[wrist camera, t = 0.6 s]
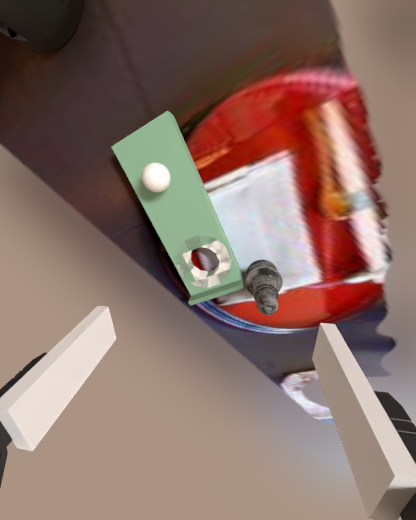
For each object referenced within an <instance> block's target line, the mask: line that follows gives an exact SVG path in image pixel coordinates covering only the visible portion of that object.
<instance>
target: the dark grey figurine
mask: <svg viewBox="0 0 416 520" xmlns="http://www.w3.org/2000/svg"><path fill="white" fill-rule="evenodd" d="M246 287H247V289H248V291H249V292H250V293H251V294H252V295H253V296H254V299H255V300H256V302H257V308H258V310H259V311H260V312H261V313H262V314H264V315H272V314H274V313H275V312H276V311H277V309H278V302H277V298H278V292H279V291H280V289H281V287H282V277H281V275H280V273H279V272H278V271H277V268H276V266H275V265H274V264H273V263H272V262H270V261H267V260H258V261H255V262H253V263H252V264H251V265H250V266H249V268H248V271H247V277H246Z"/></svg>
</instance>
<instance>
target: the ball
mask: <svg viewBox="0 0 416 520" xmlns="http://www.w3.org/2000/svg"><path fill="white" fill-rule="evenodd" d="M142 181H143V183H144V185H145V186H146V188H148V189H149V190H150V191H153V192H162V191H164V190H166V189H167V188H168V186H169V184H170V181H171V177H170V173H169V171H168V169H167V168H166V167H165V166H164V165H162V164H160V163H156V162H154V163H150V164H148V165H147V166H146V167H145V168H144V169H143V172H142Z"/></svg>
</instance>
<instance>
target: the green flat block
mask: <svg viewBox="0 0 416 520" xmlns="http://www.w3.org/2000/svg"><path fill="white" fill-rule="evenodd" d="M112 149H113V151H114V153H115V155H116V156H117V158H118V160H119V162H120V164H121V166H122V168H123V170H124V171H125V173H126V175H127V177H128V179H129V181H130V183H131V184H132V186H133V188H134V190H135V192H136V194H137V196H138V198H139V199H140V201H141V203H142V205H143V207H144V209H145V211H146V213H147V214H148V216H149V218H150V220H151V222H152V224H153V226H154V228H155V229H156V231H157V233H158V235H159V237H160V239H161V241H162V243H163V244H164V246H165V248H166V250H167V252H168V254H169V256H170V258H171V259H172V261H173V263H174V265H175V267H176V269H177V271H178V273H179V274H180V276H181V278H182V280H183V282H184V284H185V286H186V288H187V289H188V291H189V293H190V295H191V297H190V299H189V301H188V302H189V304H190V305H193V304H197V303H200V302H203V301H206V300H210V299H213V298H216V297H219V296H222V295H226V294H229V293H232V292H235V291H239V290H242V289H243V287H244V276H243V274H242V272H241V269H240V267H239V265H238V262H237V260H236V258H235V256H234V253H233V251H232V249H231V246H230V244H229V242H228V240H227V237H226V235H225V233H224V230H223V228H222V226H221V223H220V221H219V219H218V217H217V214H216V212H215V210H214V207H213V205H212V203H211V201H210V198H209V196H208V194H207V191H206V189H205V187H204V184H203V182H202V180H201V178H200V175H199V173H198V171H197V168H196V166H195V164H194V161H193V159H192V157H191V155H190V152H189V150H188V148H187V145H186V143H185V141H184V139H183V136H182V134H181V132H180V129H179V127H178V125H177V122H176V120H175V118H174V116H173V115H172V114H171V113H170V112H169V111H166V112H165V113H163V114H162V115H160V116H159V117H157V118H155V119H154V120H152V121H151V122H149V123H148V124H146V125H145V126H143V127H141V128H140V129H138V130H137V131H135V132H134V133H132V134H130V135H129V136H127V137H126V138H124V139H123V140H121V141H120V142H118V143H116V144H115V145H113V146H112ZM154 162H156V163H160V164H162V165H164V166H165V167H166V168H167V169H168V171H169V173H170V177H171V181H170V184H169V186H168V188H167V189H166V190H164V191H162V192H153V191H150V190H149V189H148V188H146V186H145V185H144V183H143V181H142V172H143V169H144V168H145V167H146V166H147V165H148V164H150V163H154ZM199 247H203V248H209V249H210V250H212V251H213V252H215V253H216V255H217V257H218V259H219V265H218V267H217V268H216V269H214V270H211V271H209V272H208V271H201V270H199V269H198V268H196V267H195V266H194V265H193V263H192V261H191V251H192V250H194V249H197V248H199Z"/></svg>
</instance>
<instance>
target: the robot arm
mask: <svg viewBox="0 0 416 520" xmlns="http://www.w3.org/2000/svg"><path fill="white" fill-rule="evenodd" d="M82 6H83V0H0V32H1V33H3V34H4V35H5V36H7V37H8V38H10V39H11V40H13V41H15V42H16V43H18V44H20V45H22V46H23V47H25V48H27V49H30V50H32V51H36V52H51V51H54V50H57V49H59V48H60V47H62V46H63V45H64V44H65V43H66V42H67V41H68V40H69V39H70V38H71V36H72V35H73V33H74V31H75V29H76V27H77V25H78V22H79V19H80V16H81V12H82ZM115 340H116V335H115V331H114V327H113V323H112V319H111V315H110V311H109V307H107V306H97V307H96V308H95V309H94V310H93V311H92V312H91V313H90V314H89V315H88V316H86V317H85V318H84V320H82V321H81V322H80V323H79V324H78V325H77V326H76V327H75V328H74V329H73V330H72V331H71V332H70V333H69V334H67V335H66V336H65V337H64V338H63V339H62V340H61V341H60V342H59V343H58V344H57V345H56V346H55V347H54V348H53V349H52V350H50V351H49V352H48V353H43V354H42V355H40V356H39V357H37V358H35V359H34V360H32V361H31V362H30V363H29V364H28V365H27V366H26V367H24V368H23V370H22V371H20V372H19V373H18V374H17V375H16V376H15V378H12V379H11V380H10V381H9V382H8V383H7V384H6V385H5V386H4V387H2V388H1V389H0V486H1V482H2V477H3V472H4V468H5V463H6V458H7V448H6V447H7V446H8V445H9V443H10V442H11V441H13V442H14V444H15V445H16V447H17V448H19V449H24V450H29V451H33V450H34V449H35V447H36V446H37V444H38V443H39V442H40V441H41V439H42V438H43V437H44V435H45V434H46V433H47V431H48V430H49V429H50V427H51V426H52V424H53V423H54V422H55V421H56V419H57V418H58V417H59V415H60V414H61V412H62V411H63V410H64V409H65V407H66V406H67V404H68V403H69V402H70V400H71V399H72V398H73V396H74V395H75V394H76V392H77V391H78V390H79V388H80V387H81V386H82V384H83V383H84V382H85V380H86V379H87V378H88V376H89V375H90V374H91V372H92V371H93V369H94V368H95V367H96V366H97V364H98V363H99V362H100V360H101V359H102V357H103V356H104V355H105V353H106V352H107V351H108V349H109V348H110V347H111V345H112V344H113V343H114V341H115ZM312 360H313V363H314V365H315V368H316V371H317V374H318V377H319V379H320V382H321V385H322V388H323V391H324V394H325V396H326V399H327V402H328V405H329V408H330V410H331V413H332V416H333V419H334V422H335V425H336V427H337V430H338V433H339V436H340V439H341V441H342V444H343V447H344V450H345V453H346V455H347V458H348V461H349V464H350V467H351V470H352V472H353V475H354V478H355V481H356V484H357V487H358V489H359V492H360V495H361V498H362V501H363V503H364V506H365V509H366V512H367V515H368V518H369V519H373V520H398V518H399V517H400V516H401V518H402V520H416V427H415V425H414V424H413V423H412V422H411V419H410V418H409V416H408V415H407V413H406V412H405V410H404V409H403V407H402V406H401V405H400V404H399V403H398V402H397V401H396V400H395V399H394V398H393V397H392V396H391V395H390V394H389V393H386V392H377V391H373V389H372V388H371V386H370V384H369V382H368V381H367V379H366V377H365V376H364V374H363V372H362V370H361V369H360V367H359V365H358V363H357V362H356V360H355V358H354V357H353V355H352V353H351V351H350V350H349V348H348V346H347V344H346V343H345V341H344V339H343V337H342V336H341V334H340V332H339V331H338V329H337V327H336V325H335V324H326V323H320V327H319V331H318V335H317V340H316V344H315V349H314V353H313V357H312Z"/></svg>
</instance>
